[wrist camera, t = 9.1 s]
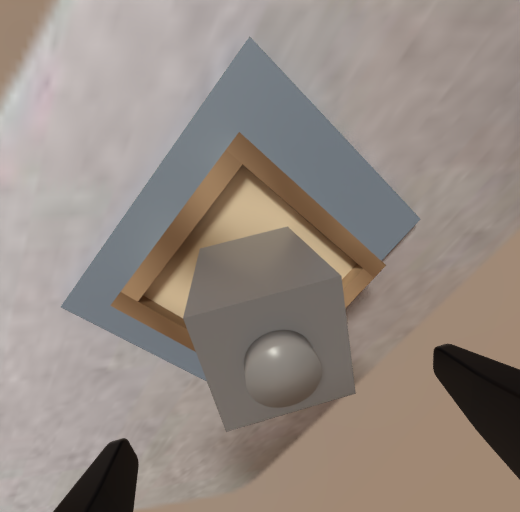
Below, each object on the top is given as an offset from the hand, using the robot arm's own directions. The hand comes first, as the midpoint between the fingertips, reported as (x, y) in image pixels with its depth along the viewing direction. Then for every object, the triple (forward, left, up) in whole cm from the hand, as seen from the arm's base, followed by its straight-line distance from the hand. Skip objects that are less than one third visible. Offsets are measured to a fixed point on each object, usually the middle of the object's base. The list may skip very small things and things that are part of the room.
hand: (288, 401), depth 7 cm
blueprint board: (0, 0, -12) cm, 12 cm away
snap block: (0, 0, -9) cm, 9 cm away
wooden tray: (0, 0, -12) cm, 12 cm away
